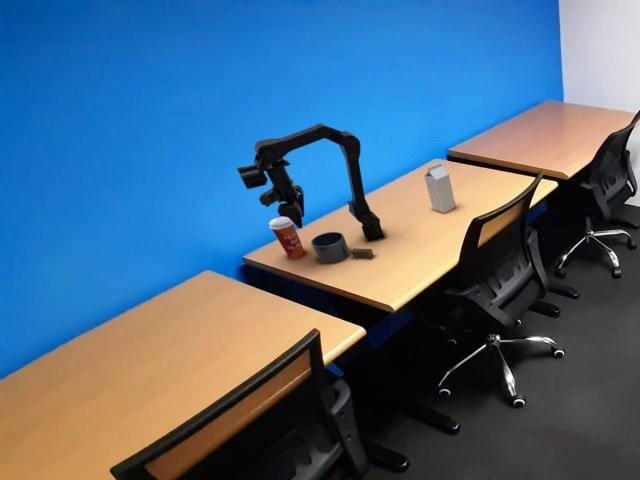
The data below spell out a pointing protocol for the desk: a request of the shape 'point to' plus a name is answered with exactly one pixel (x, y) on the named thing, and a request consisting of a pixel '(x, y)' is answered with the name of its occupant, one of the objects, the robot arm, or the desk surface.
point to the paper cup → (287, 236)
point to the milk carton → (440, 188)
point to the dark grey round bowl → (330, 247)
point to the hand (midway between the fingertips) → (301, 222)
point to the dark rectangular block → (362, 253)
